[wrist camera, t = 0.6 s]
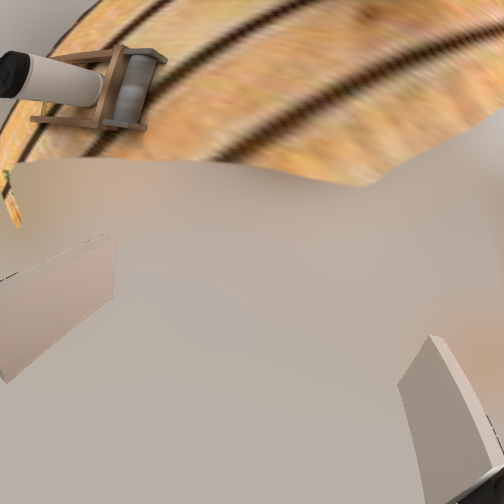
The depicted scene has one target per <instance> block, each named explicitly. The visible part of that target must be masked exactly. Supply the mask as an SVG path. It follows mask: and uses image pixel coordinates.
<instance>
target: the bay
mask: <svg viewBox="0 0 504 504" xmlns="http://www.w3.org/2000/svg"><path fill="white" fill-rule="evenodd" d="M49 59H52V60H56V61H60V62H64V63H67V64H79V63H90V62H106V61H110V64H109V67H108V70H107V73H106V76H105V79H104V83H103V86H102V89H101V93H100V96H99V100H98V103H97V107H96V111H95V115H94V119H93V120H87V119H76V118H63V117H47V116H45V111H46V107H47V103H48V102H42V101H41V103H40V107H39V112H38V116H31V118H30V122H39V123H52V124H63V125H73V126H81V127H90V128H95V129H104V130H114V131H117V130H118V127H124V128H131V129H137V130H143V131H146V128H147V126H146V125H141V124H138V123H139V119H140V115H141V111H142V108H143V104H144V101H145V97H146V94H147V91H148V88H149V84H150V81H151V78H152V75H153V72H154V69H155V66H156V63H166V62H167V58H166V57H164V56H163V55H161V54H160V53H158V52H157V51H155V50H154V49H152V48H139V49H130V48H128V47H126V46H124V45H116V48H115V49H112V50H100V51H91V52H83V53H75V54H69V55H63V56H57V57H52V58H49Z"/></svg>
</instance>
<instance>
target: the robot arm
mask: <svg viewBox="0 0 504 504" xmlns="http://www.w3.org/2000/svg"><path fill="white" fill-rule="evenodd" d="M115 244H116V240H115V239H113V238H110V237H107V236H104V235H100V236H98V237H95V238H93V239H91V240H88V241H86V242H84V243H81V244H79V245H77V246H74V247H72V248H70V249H68V250H65V251H63V252H61V253H59V254H57V255H54V256H52V257H50V258H48V259H46V260H44V261H42V262H39V263H37V264H35V265H33V266H31V267H29V268H27V269H25V270H23V271H21V272H18V273H15V274H13V275H11V276H9V277H7V278H6V279H5V280H4V279H3V280H1V281H0V377H1V378H2V379H3V380H4V381H5V382H6V383H9V382H10V381H11V380H12V379H13V378H14V377H16V376H17V375H18V374H19V373H20V372H21V371H22V370H24V369H25V368H26V367H27V366H28V365H30V364H31V363H32V362H33V361H34V360H35V359H37V358H38V357H39V356H40V355H41V354H43V353H44V352H45V351H46V350H47V349H49V348H50V347H51V346H52V345H54V344H55V343H56V342H57V341H58V340H60V339H61V338H62V337H63V336H65V335H66V334H67V333H68V332H70V331H71V330H72V329H73V328H75V327H76V326H77V325H78V324H80V322H82V321H83V320H85V319H86V318H87V317H89V316H90V315H91V314H92V313H94V312H95V311H96V310H98V309H99V308H100V307H102V306H103V305H104V304H105V303H107V302H108V301H109V300H111V299H112V298H113V289H114V287H113V286H114V260H115ZM397 385H398V388H399V391H400V395H401V398H402V401H403V405H404V408H405V412H406V415H407V419H408V423H409V427H410V430H411V435H412V438H413V442H414V447H415V451H416V455H417V460H418V465H419V470H420V475H421V480H422V485H423V491H424V497H425V503H426V504H456V503H458V504H504V452H503V449H502V447H501V445H500V442H499V440H498V438H497V437H496V433H495V431H494V429H492V424H491V422H490V420H489V418H488V416H487V415H486V414H485V412H484V410H483V408H482V406H481V404H480V402H479V400H478V398H477V397H476V395H475V393H474V391H473V389H472V387H471V385H470V384H469V382H468V380H467V378H466V376H465V375H464V373H463V371H462V369H461V368H460V366H459V364H458V363H457V361H456V359H455V358H454V356H453V354H452V353H451V351H450V349H449V348H448V346H447V345H446V343H445V341H444V340H443V338H441V337H437V336H433V335H428V337H427V339H426V341H425V342H424V344H423V346H422V348H421V349H420V351H419V352H418V354H417V356H416V357H415V359H414V360H413V362H412V363H411V365H410V366H409V368H408V370H407V371H406V373H405V374H404V375H403V377H402V378H401V380H400V381H399V383H398V384H397Z"/></svg>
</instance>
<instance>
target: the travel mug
mask: <svg viewBox="0 0 504 504" xmlns="http://www.w3.org/2000/svg"><path fill="white" fill-rule="evenodd" d="M104 79H105V77H104V76H103V75H102V74H100V73H97V72H94V71H91V70H87V69H84V68H81V67H78V66H74V65H71V64H67V63H64V62H60V61H56V60H52V59H49V58H45V57H40V56H36V55H31V54H25V53H20V52H15V51H9V52H7V53H5V54H4V55H3V56H2V57H1V58H0V98H10V99H21V100H33V101H42V102H51V103H59V104H67V105H73V106H80V107H86V108H90V107H93V106H95V105H96V104H97V103H98V100H99V96H100V93H101V89H102V86H103V83H104Z"/></svg>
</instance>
